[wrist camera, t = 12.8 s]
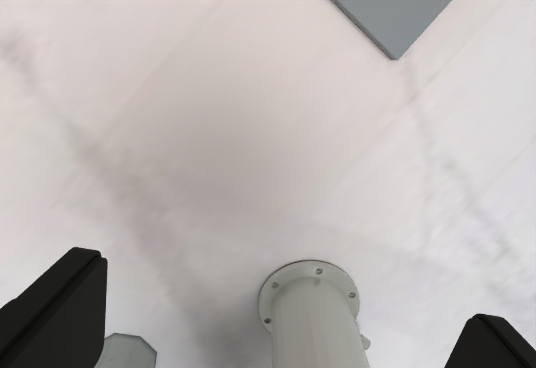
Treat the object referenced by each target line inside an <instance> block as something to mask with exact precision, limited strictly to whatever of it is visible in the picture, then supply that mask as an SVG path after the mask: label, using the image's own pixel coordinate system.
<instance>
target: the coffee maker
mask: <svg viewBox="0 0 536 368" xmlns="http://www.w3.org/2000/svg"><path fill="white" fill-rule="evenodd" d="M156 356H157V352H156V351H155V350H154V349H153V348H152V347H151V346H150V345H149V344H148V343H147V342H146V341H145V340H143V339H142V338H141V337H139V336H132V335H126V334H119V333H114V334H112V335H110V336H109V337H107V338H105V339H104V347H103V351H102V354H101V356H100V358H99V360H98V362H97V364H96V366H95V367H94V368H155V365H156Z"/></svg>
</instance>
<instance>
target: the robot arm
mask: <svg viewBox="0 0 536 368" xmlns="http://www.w3.org/2000/svg"><path fill="white" fill-rule="evenodd" d="M107 265H108V263H107V259H106V258H102V257H101V253H100V252H99V251H97V250H91V249H85V248H79V247H73V248H72V249H70V250H69V251H68V252H67V253H66V254H65V255H64V256H62V257H61V258H60V259H59V260H58V261H57V262H56V263H55V264H54V265H53V266H51V267H50V268H49V269H48V270H47V271H46V272H45V273H44V274H43V275H41V276H40V277H39V278H38V279H37V280H36V281H35V282H34V283H33V284H32V285H30V286H29V287H28V288H27V289H26V290H25V291H24V292H23V293H22V294H20V295H19V296H18V297H17V298H16V299H13V300H11V301H10V302H8V303H7V304H5V305H4V306H3V307H2V308H1V309H0V368H94V367H95V366H96V364H97V362H98V360H99V358H100V356H101V354H102V351H103V347H104V336H105V313H106V289H107ZM359 307H360V299H359V294H358V291H357V288H356V286H355V284H354V282H353V281H352V279H351V278H350V277H349V276H348V275H347V274H346V273H345V272H344V271H342V270H341V269H340V268H338V267H336V266H333V265H331V264H328V263H324V262H318V261H303V262H298V263H294V264H291V265H288V266H286V267H283V268H282V269H280V270H278V271H277V272H275V273H274V274H273V275H272V276H271V277H270V278H269V279H268V280H267V281H266V283H265V284H264V285H263V287H262V290H261V292H260V296H259V301H258V310H259V316H260V319H261V322H262V324H263V325H264V327H265V328H266V329H267V331H269V332H270V333H271V334H272V368H370V365H369V362H368V360H367V357H366V354H365V351H364V350H366V349H368V348H369V346H370V340H369V339H368V338H366V337H365V336H363V335H362V334H360V333H359V330H358V327H357V324H356V321H355V320H356V318H357V315H358V312H359ZM444 368H536V350H535V349H534V348H533V347H532V346H531V345H530V344H529V343H528V342H527V341H526V340H525V339H524V338H523V337H522V336H521V335H520V334H519V333H518V332H517V331H516V330H515V329H514V328H513V327H512V326H511V325H510V323H509V322H508V321H506V320H505V319H504V318H502V317H498V316H492V315H486V314H476V315H474V316H473V317H472V318H470V319H469V320H468V321H467V322H466V324H465V326H464V328H463V330H462V332H461V334H460V336H459V339H458V341H457V343H456V345H455V347H454V349H453V351H452V353H451V355H450V357H449V359H448V361H447V363H446V365H445V367H444Z"/></svg>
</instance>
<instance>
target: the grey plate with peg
mask: <svg viewBox="0 0 536 368" xmlns="http://www.w3.org/2000/svg"><path fill="white" fill-rule="evenodd" d="M332 1H333V2H334V3H335V4H336V5H337V6H338V7H339V8H340V9H341V10H342V11H343V12H344V13H345V14H346V15H347V16H348V17H349V18H350V19H351V20H352V21H353V22H354V23H355V24H356V25H357V26H358V27H359V28H360V29H361V30H362V31H363V32H364V33H365V34H366V35H367V36H368V37H369V38H370V39H371V40H372V41H373V42H374V43H375V44H376V45H377V46H378V47H379V48H380V49H381V50H382V51H383V52H384V53H385V54H386V55H387V56H388V57H389V58H390V59H391V60H399V58H400V57H401V56H402V55H403V54H404V53H405V52H406V51H407V50H408V48H409V47H410V46H411V45H412V44H413V43H414V42H415V41H416V40H417V38H418V37H419V36H420V35H421V34H422V33H423V32H424V31H425V30H426V28H427V27H428V26H429V25H430V24H431V23H432V22H433V21H434V20H435V18H436V17H437V16H438V15H439V14H440V13H441V12H442V11H443V10H444V8H445V7H446V6H447V5H448V4H449V3H450V2H451V1H452V0H332Z"/></svg>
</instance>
